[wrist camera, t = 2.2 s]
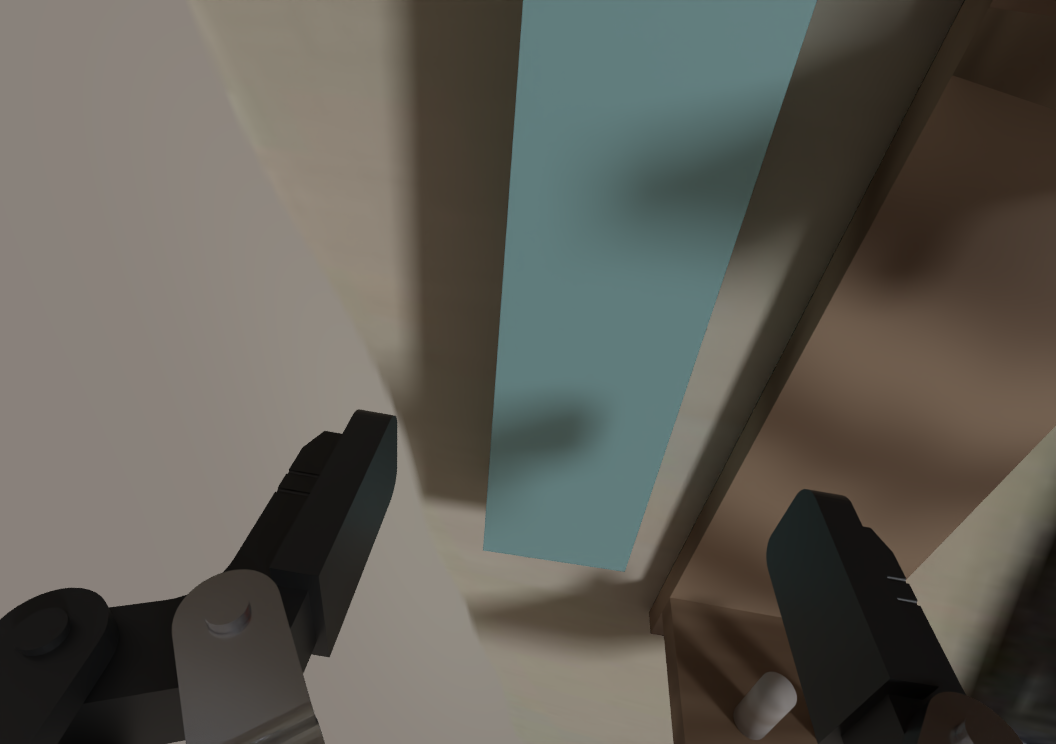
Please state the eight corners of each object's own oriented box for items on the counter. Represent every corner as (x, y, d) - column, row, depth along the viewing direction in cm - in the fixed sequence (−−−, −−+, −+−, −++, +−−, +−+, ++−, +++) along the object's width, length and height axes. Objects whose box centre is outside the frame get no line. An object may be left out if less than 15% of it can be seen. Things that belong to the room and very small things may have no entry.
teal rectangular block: (550, -111, 12) (533, -133, 9) (790, -85, 12) (849, -97, 9) (498, 476, 23) (483, 550, 20) (622, 494, 22) (624, 571, 20)
